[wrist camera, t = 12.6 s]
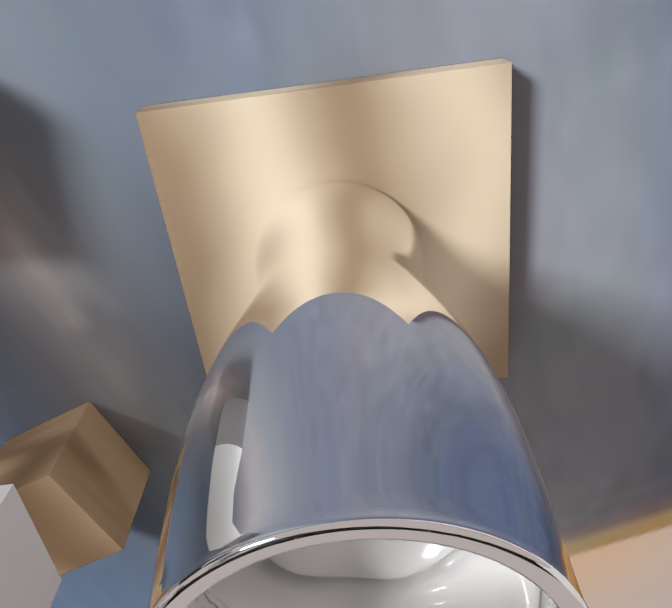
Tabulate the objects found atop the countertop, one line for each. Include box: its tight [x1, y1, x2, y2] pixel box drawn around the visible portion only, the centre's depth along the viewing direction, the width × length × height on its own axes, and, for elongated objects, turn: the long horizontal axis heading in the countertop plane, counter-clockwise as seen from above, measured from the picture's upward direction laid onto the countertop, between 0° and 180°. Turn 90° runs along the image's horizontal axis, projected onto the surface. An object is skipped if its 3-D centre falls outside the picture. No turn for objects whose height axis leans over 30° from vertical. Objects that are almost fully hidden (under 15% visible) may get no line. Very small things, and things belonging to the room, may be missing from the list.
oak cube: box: [0, 401, 150, 575], centre depth 25 cm, size 4×4×4 cm
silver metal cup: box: [147, 182, 588, 608], centre depth 15 cm, size 7×7×15 cm
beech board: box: [136, 58, 512, 379], centre depth 22 cm, size 12×12×1 cm
